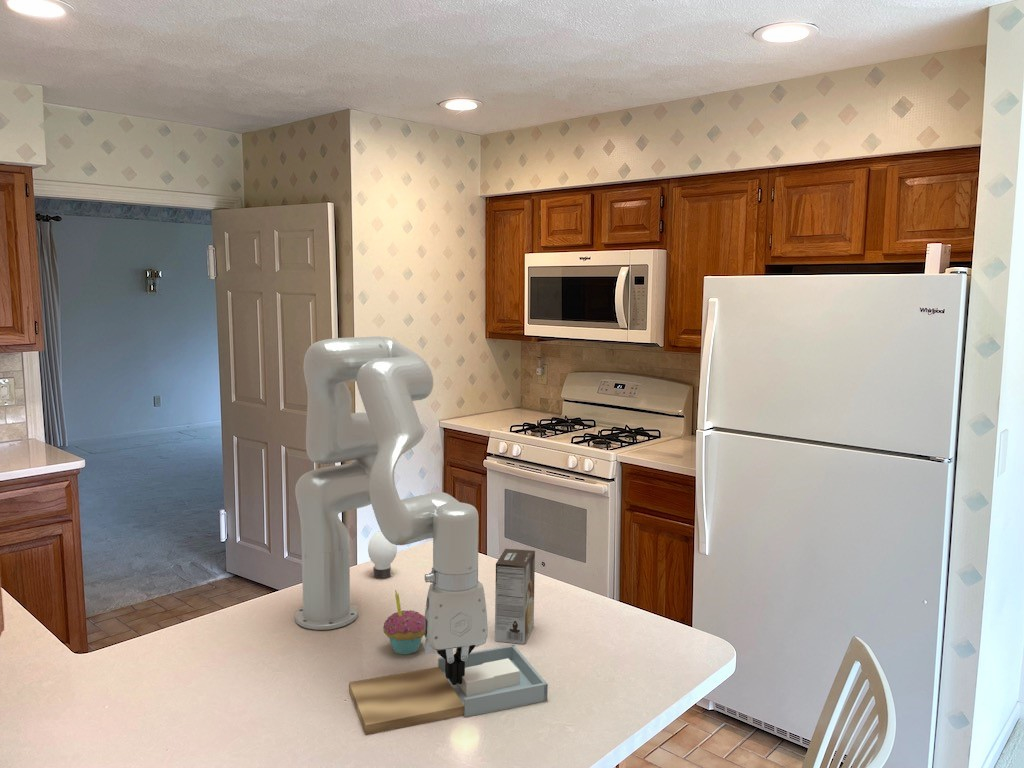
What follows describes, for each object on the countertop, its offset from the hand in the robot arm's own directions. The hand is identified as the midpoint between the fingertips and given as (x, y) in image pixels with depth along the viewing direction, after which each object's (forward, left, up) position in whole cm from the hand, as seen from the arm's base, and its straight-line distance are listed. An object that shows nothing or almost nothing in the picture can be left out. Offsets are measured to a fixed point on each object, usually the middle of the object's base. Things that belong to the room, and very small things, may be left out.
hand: (454, 680), depth 135 cm
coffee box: (-18, +18, -3) cm, 26 cm away
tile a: (0, +4, -2) cm, 4 cm away
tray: (0, +7, -2) cm, 7 cm away
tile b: (-1, +9, -2) cm, 9 cm away
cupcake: (-19, -4, -3) cm, 20 cm away
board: (0, -9, -2) cm, 9 cm away
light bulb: (-57, 0, -3) cm, 57 cm away
